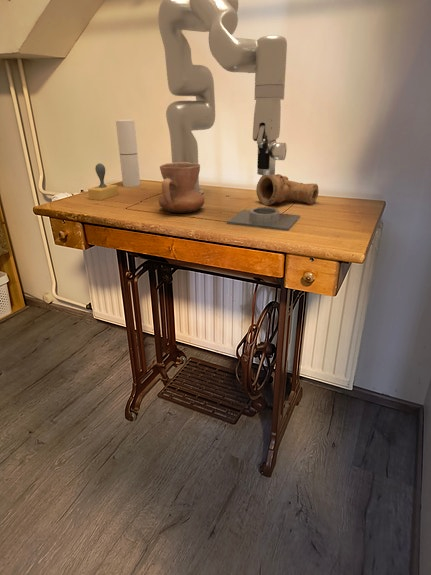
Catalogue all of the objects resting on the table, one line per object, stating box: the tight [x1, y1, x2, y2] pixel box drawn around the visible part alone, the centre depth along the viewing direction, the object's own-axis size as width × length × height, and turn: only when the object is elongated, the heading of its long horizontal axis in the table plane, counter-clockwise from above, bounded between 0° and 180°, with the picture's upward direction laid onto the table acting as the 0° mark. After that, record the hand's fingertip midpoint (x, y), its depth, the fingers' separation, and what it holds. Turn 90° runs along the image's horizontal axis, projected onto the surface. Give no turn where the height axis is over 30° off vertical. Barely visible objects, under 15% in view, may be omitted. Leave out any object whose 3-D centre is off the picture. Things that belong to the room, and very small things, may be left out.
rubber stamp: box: [87, 162, 119, 201], centre depth 141 cm, size 10×6×12 cm, turn 154°
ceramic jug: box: [158, 162, 205, 214], centre depth 122 cm, size 18×14×14 cm
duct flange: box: [226, 206, 301, 231], centre depth 113 cm, size 18×14×3 cm
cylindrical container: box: [115, 119, 141, 188], centre depth 157 cm, size 7×7×25 cm
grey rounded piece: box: [256, 139, 288, 176], centre depth 106 cm, size 7×5×8 cm, turn 66°
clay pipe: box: [255, 173, 319, 206], centre depth 130 cm, size 19×11×15 cm
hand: (266, 166), depth 107 cm, fingers closed on grey rounded piece, 4 cm apart
